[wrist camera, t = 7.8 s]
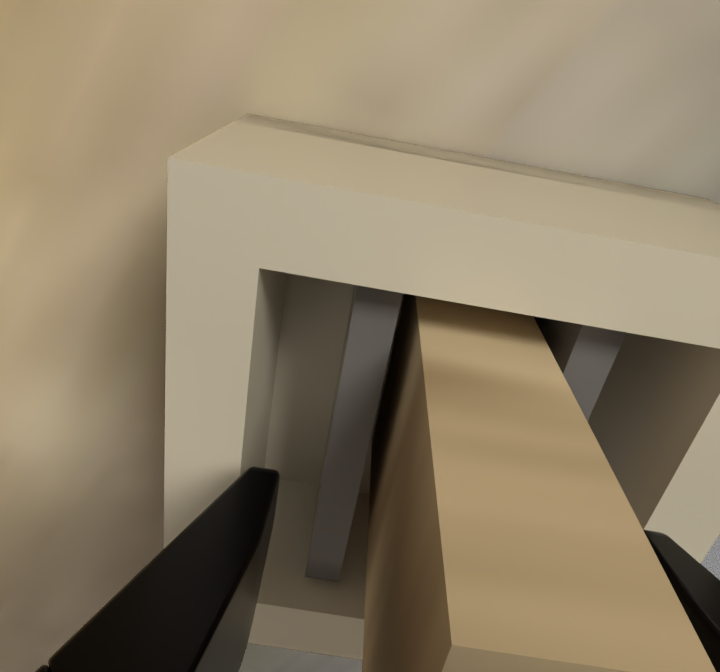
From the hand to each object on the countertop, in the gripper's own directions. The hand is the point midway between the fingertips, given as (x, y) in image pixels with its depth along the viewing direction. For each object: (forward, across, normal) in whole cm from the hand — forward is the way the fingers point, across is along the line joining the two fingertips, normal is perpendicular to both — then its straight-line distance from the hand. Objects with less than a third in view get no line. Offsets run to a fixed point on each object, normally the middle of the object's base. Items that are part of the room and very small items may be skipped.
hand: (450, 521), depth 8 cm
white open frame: (+4, 0, 0) cm, 4 cm away
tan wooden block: (+4, 0, 0) cm, 4 cm away
